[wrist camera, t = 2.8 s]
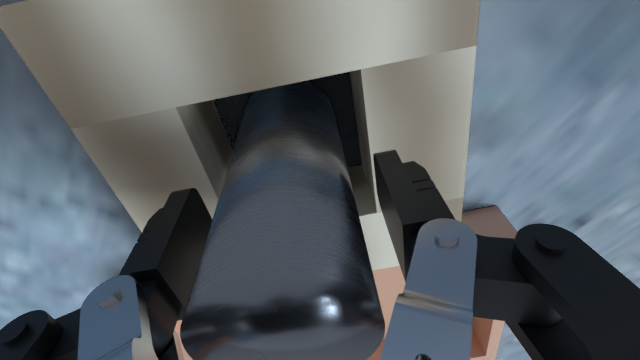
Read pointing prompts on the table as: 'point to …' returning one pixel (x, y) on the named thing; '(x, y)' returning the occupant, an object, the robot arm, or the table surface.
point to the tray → (393, 283)
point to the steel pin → (285, 244)
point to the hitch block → (251, 85)
